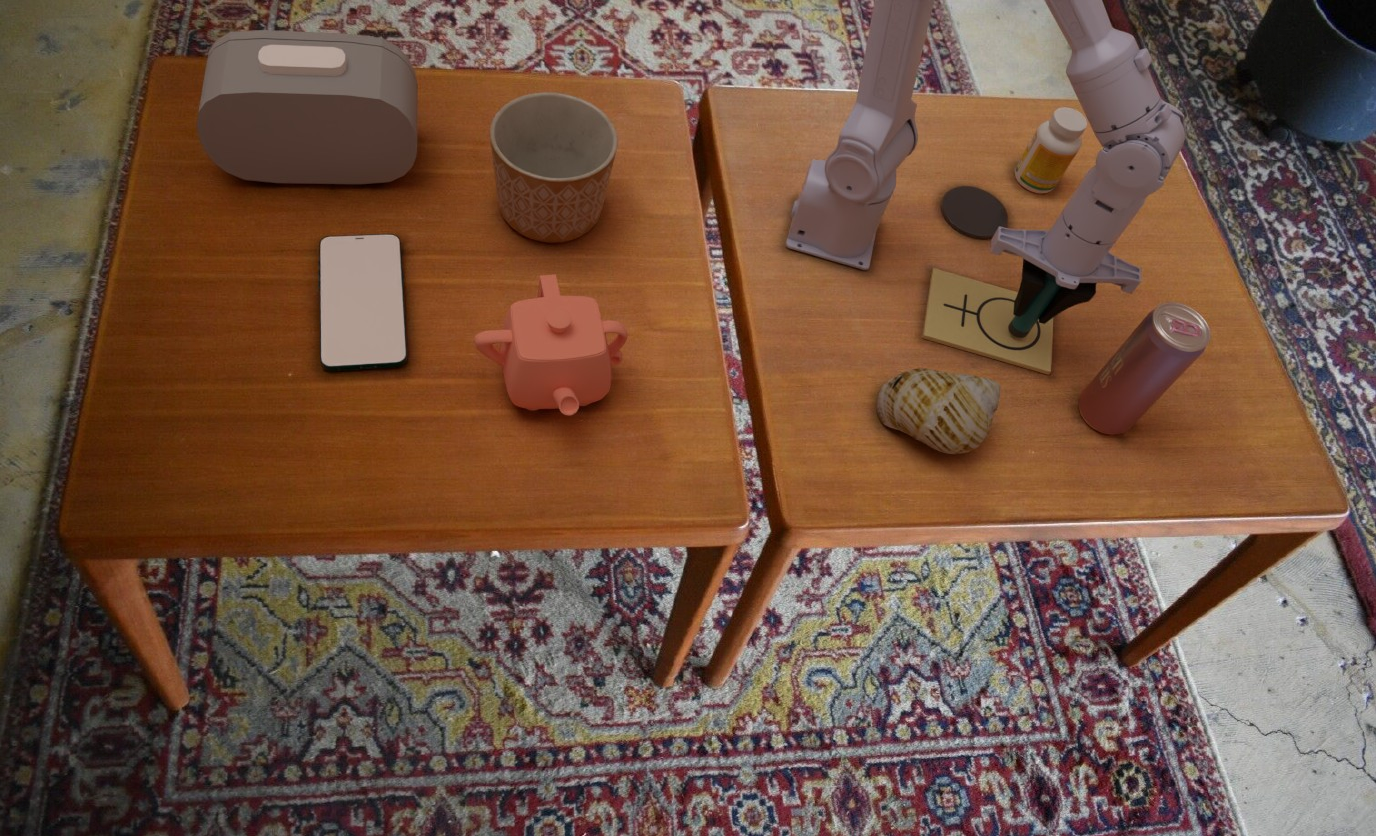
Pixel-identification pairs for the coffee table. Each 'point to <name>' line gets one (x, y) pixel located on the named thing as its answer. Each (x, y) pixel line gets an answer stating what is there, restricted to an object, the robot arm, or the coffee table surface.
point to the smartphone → (361, 302)
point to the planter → (552, 164)
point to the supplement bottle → (1051, 150)
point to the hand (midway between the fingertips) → (1029, 312)
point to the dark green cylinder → (1034, 308)
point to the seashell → (940, 408)
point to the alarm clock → (309, 108)
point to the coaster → (973, 212)
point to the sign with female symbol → (983, 322)
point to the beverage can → (1144, 367)
